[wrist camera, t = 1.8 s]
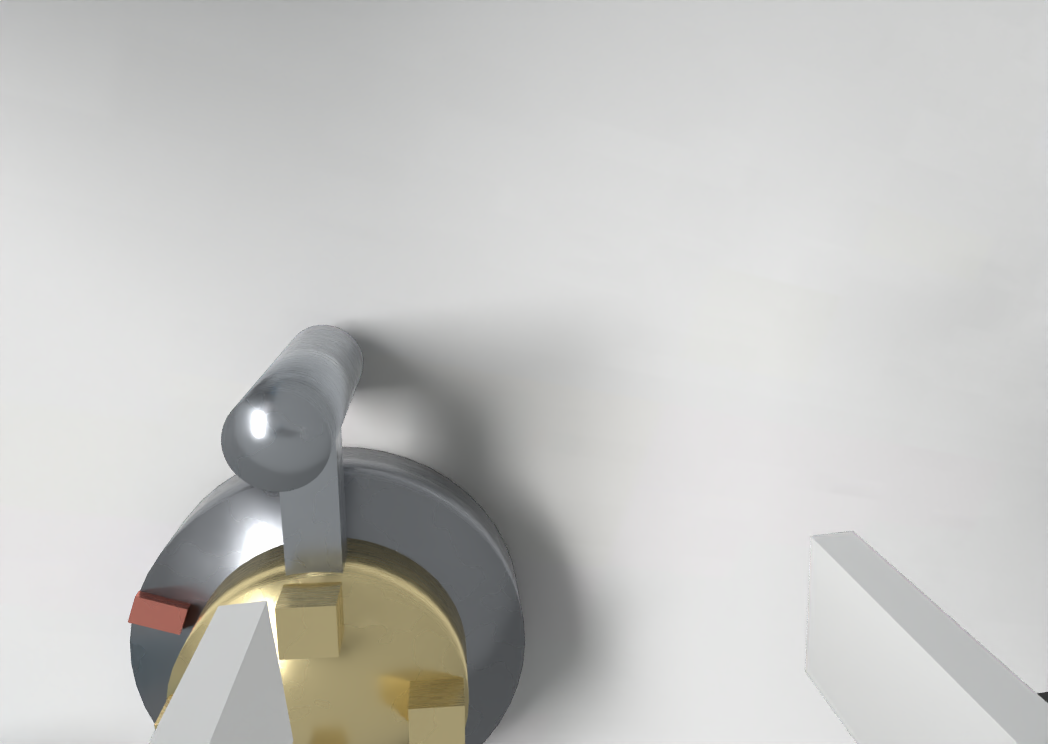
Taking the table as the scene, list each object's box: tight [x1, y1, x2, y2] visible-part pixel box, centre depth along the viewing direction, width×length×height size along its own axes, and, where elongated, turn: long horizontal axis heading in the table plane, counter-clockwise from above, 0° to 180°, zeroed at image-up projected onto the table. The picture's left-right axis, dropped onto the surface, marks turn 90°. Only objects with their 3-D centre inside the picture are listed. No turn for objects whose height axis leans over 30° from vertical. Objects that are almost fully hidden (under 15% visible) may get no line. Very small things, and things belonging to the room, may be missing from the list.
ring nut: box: [154, 325, 469, 744], centre depth 27 cm, size 19×11×9 cm, turn 179°
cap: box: [128, 447, 525, 744], centre depth 32 cm, size 16×16×3 cm
